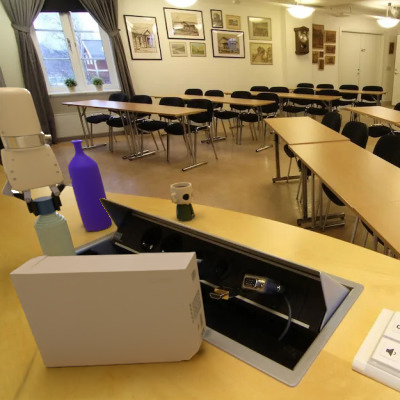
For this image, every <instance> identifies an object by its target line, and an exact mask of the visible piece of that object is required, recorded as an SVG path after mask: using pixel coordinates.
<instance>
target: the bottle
mask: <svg viewBox="0 0 400 400" xmlns="http://www.w3.org/2000/svg"><path fill="white" fill-rule="evenodd" d="M70 143H71V144H72V145H73V148H74V156H73V157H72V158H71V160H70V161H69V163H68V166H67V170H68V175H69V178H70V179H72V182H71V183H70V184H71V187H72V190H73V191H72V192H73V194H74V198H75V202H76V205H77V209H78V212H79V213H78V214H79V216H80V219H81V223H82V225H83V228H84V230H85V231H86V232H89V231H95V232H100V231H99V230H101V231H104V230H106V228H107V229H109V228H110V227H111V226H112V217H111V218H110V217H109V215H108V213H107V212H106V210H105V209H104V207H103V206H102V204H101V202H100V200H99V199H100V198H105V199H107V194H106V190H105V186H104V183H103V179H102V175H101V171H100V167H99V165H98V163H97V162H96V161H95V160H94V159H93V158H92V157H90V156H89V155H87V154H86V153H85V152H84V150H83V145H82V143H84V142H83V139H75V140H74V139H73V140H70ZM107 200H108V199H107ZM109 226H110V227H109ZM108 227H109V228H108ZM103 229H104V230H103Z"/></svg>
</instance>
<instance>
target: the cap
mask: <svg viewBox="0 0 400 400" xmlns="http://www.w3.org/2000/svg"><path fill="white" fill-rule="evenodd" d="M32 200H33V201H34V202H35V204H36V207H37V210H38V213H39V215H47V214H51V213H54V212H56V213H57V210H56V207H55V204H54V201H53V197H52V196H51V195H45V196H39V197H36V198H34V199H32ZM39 215H38V216H39Z"/></svg>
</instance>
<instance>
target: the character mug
mask: <svg viewBox="0 0 400 400" xmlns="http://www.w3.org/2000/svg"><path fill="white" fill-rule="evenodd" d="M169 187H170V188H169V189H170V193H171V194H170V200H171V203H172V204H175V205H176V206H175V216H176V219H178V220H181V221H188V220H191V219H193V218H195V216H196V215H195V211H194V207H193V204H192V202H193V201H194V197H195V196H194V189H193V185H192V182H187V181H182V182H176V183H173V184H170V186H169Z"/></svg>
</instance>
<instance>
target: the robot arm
mask: <svg viewBox="0 0 400 400" xmlns="http://www.w3.org/2000/svg"><path fill="white" fill-rule="evenodd" d="M0 139H1V142H2V144H3V145H2V146H3V147H4V148H2V149H0V157H1V163H2V166H3V171H4V174H5V177H6V180H5V183H4V184H3V187H2V189H1V190H0V193H1V195H3V196H7V197H12V198H15V199H19V200H21V201H23V202H25V204H26V208H27V209H28V210H27V211H28V213H29V214H33V216H34V217H39V213H38V210H37V207H36V204H35V202H34V201H33V200H34V199H33V198H32V195H31V190H34V189H35V190H36V189H41V188H47V187H49V190H50V191H51V194H50V196H52V197H53V201H54V204H55V207H56V212H61V211H62V210H61V207H63V203H62V200H61V197H60V196H61V194H62V192H63V191H64V190H65V189H66V187H68V185H70V184H72V183H71V182H72V179H70V176H68V175H67V174H65V173H64V172H63V171H62V170H61V167H60V164H59V162H58V160H57V157H56V155H55V152H54V150H53V149H52V147H51V145H50V144H47V143H48V141H52V140H53V138H52V135H51V134H47V133H46V134H45V133H44V132H43V130H42V127H41V122H40V119H39V116H38V113H37V109H36V106H35V103H34V100H33V96H32V94H31V92H30V91H29V90H28V89H27V88H24V87H8V86H7V87H6V86H4V87H2V86H1V87H0Z"/></svg>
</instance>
